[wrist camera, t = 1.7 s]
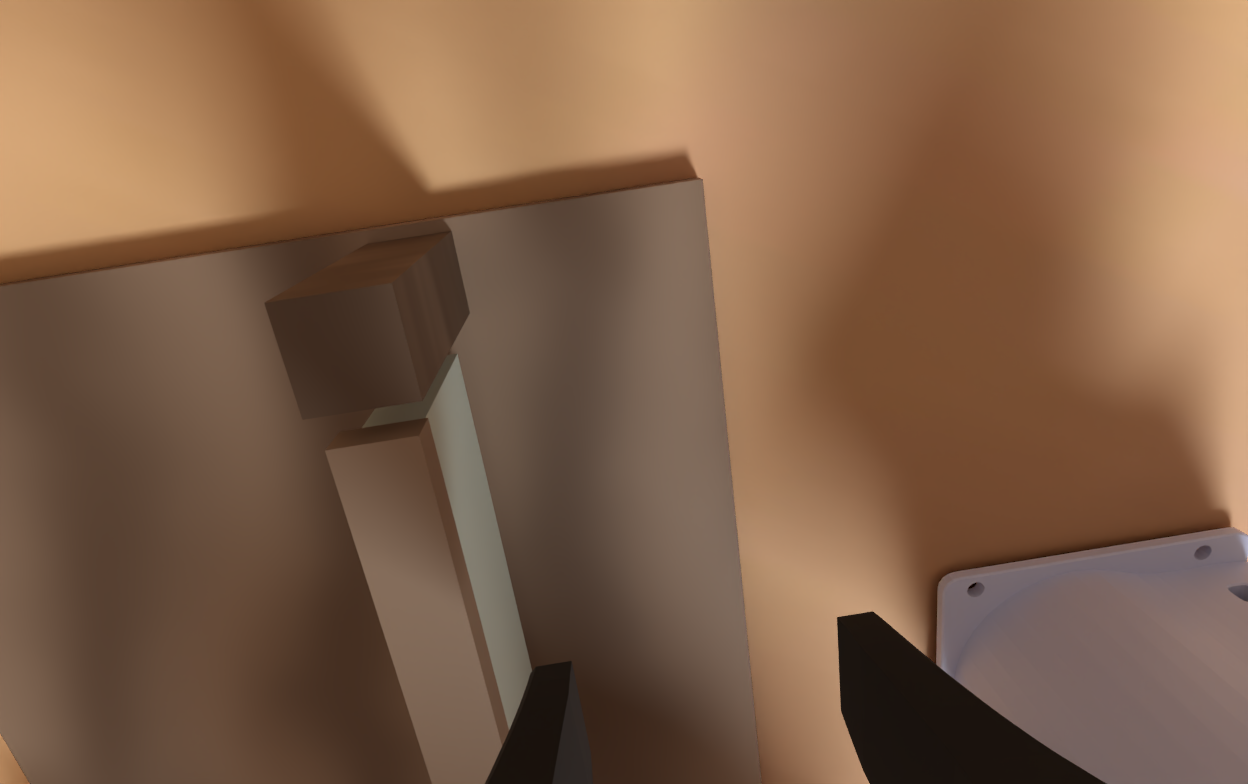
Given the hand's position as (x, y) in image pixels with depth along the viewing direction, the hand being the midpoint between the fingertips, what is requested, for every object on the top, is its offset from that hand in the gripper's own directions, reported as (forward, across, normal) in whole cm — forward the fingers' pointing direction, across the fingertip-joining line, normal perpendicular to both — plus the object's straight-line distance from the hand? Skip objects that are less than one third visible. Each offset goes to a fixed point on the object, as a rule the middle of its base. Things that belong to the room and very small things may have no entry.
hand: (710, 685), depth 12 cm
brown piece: (+8, +9, +4) cm, 13 cm away
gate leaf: (+7, +5, +3) cm, 9 cm away
